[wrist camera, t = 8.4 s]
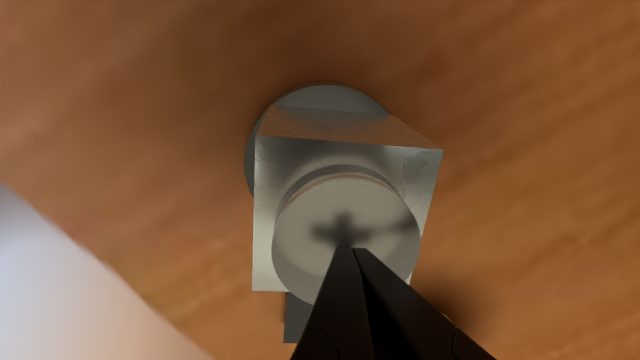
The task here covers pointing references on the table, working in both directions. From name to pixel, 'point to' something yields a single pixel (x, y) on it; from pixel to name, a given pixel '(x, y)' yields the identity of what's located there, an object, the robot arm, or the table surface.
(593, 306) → the table surface
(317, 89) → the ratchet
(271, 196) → the block with round boss
